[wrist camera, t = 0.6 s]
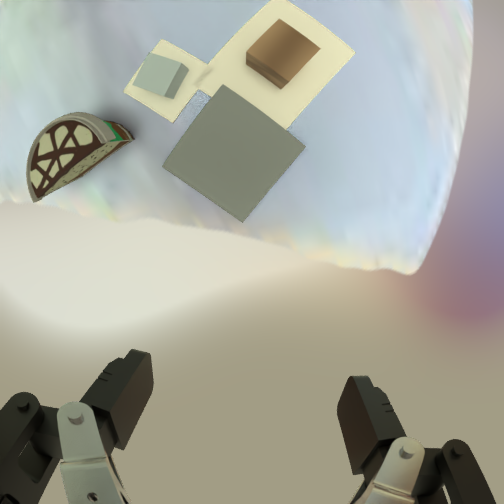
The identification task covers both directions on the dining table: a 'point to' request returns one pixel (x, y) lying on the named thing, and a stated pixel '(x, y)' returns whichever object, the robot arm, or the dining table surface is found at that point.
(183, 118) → the dining table surface
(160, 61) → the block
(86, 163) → the food container
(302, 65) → the block
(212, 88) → the plaque
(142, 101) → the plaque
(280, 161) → the mat
